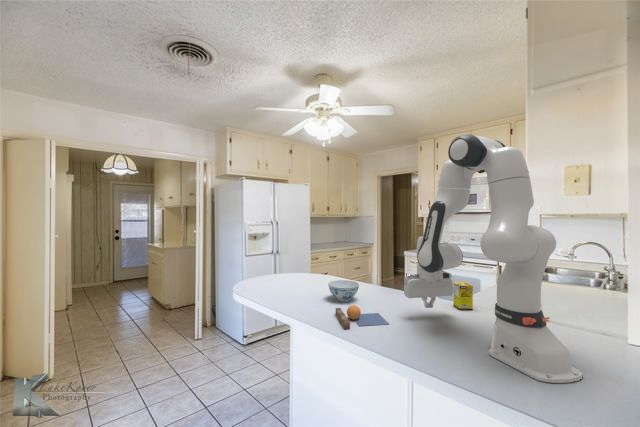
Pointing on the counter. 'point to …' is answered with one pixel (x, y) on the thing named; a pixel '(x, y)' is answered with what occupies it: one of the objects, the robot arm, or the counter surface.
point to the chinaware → (343, 289)
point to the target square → (371, 320)
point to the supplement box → (463, 296)
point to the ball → (353, 312)
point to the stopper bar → (342, 318)
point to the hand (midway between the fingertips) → (428, 307)
